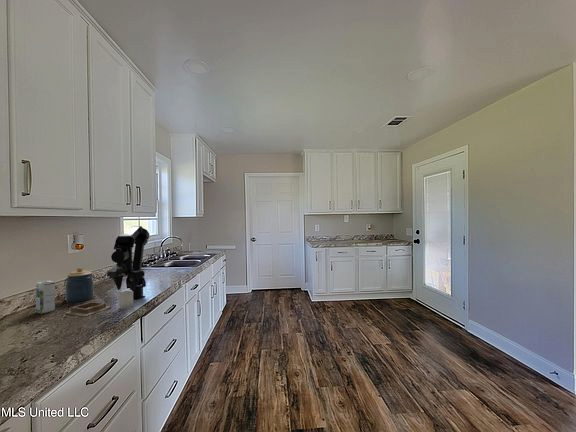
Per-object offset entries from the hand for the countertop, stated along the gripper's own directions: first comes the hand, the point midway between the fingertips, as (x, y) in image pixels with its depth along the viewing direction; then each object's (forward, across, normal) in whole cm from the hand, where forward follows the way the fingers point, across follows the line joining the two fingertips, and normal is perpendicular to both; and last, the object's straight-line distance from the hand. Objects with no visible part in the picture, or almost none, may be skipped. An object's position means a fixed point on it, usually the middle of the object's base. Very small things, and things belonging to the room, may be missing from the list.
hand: (126, 290), depth 141 cm
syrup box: (+9, -33, -16) cm, 38 cm away
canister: (+9, -38, +4) cm, 39 cm away
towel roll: (+8, 0, 0) cm, 8 cm away
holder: (+8, -13, -10) cm, 18 cm away
